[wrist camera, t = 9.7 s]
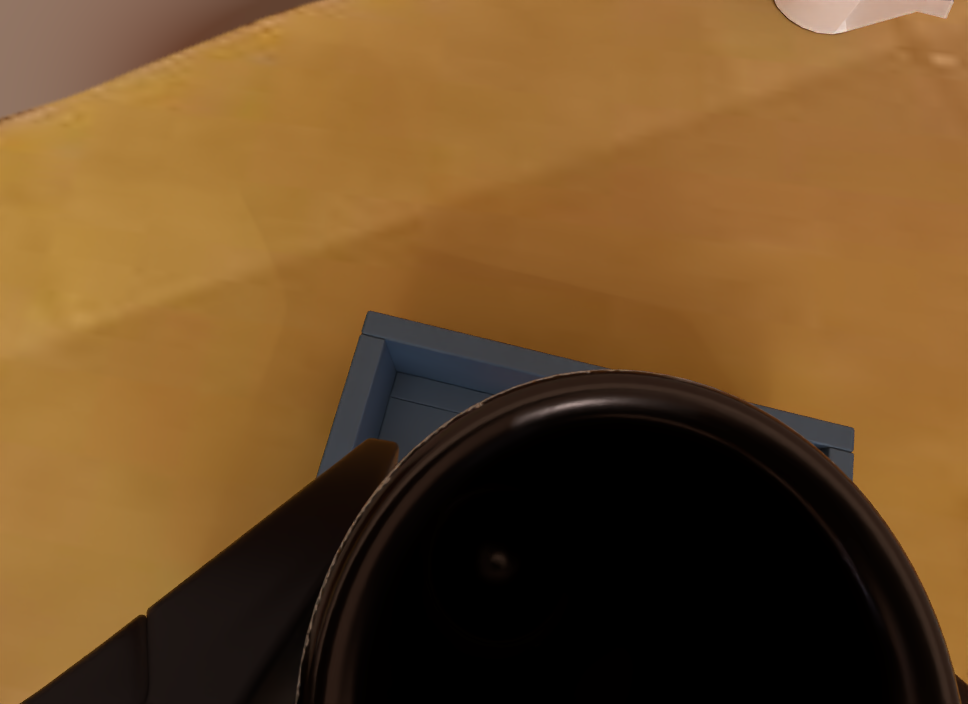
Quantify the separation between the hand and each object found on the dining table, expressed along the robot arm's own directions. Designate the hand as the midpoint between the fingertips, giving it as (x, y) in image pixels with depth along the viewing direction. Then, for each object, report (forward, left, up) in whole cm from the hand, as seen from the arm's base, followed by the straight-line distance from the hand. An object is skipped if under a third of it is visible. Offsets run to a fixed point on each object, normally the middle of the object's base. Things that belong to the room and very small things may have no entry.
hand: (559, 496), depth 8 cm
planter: (0, -1, -7) cm, 7 cm away
